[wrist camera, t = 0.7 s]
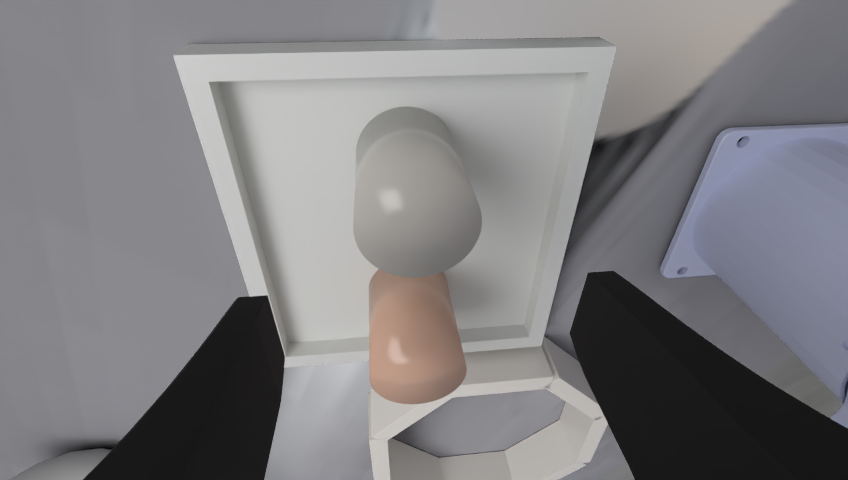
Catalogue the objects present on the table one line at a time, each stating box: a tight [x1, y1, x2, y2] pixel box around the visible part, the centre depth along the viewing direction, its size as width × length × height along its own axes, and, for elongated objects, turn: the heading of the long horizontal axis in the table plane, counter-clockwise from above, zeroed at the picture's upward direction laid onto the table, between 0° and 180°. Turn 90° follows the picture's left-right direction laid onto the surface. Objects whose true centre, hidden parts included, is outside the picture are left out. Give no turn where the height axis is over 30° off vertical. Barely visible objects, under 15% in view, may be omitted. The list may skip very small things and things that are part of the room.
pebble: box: [353, 106, 482, 278], centre depth 15 cm, size 4×4×5 cm
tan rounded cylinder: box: [369, 269, 467, 404], centre depth 19 cm, size 4×4×5 cm
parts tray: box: [173, 37, 617, 368], centre depth 19 cm, size 14×15×1 cm
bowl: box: [369, 336, 608, 480], centre depth 27 cm, size 14×14×3 cm
